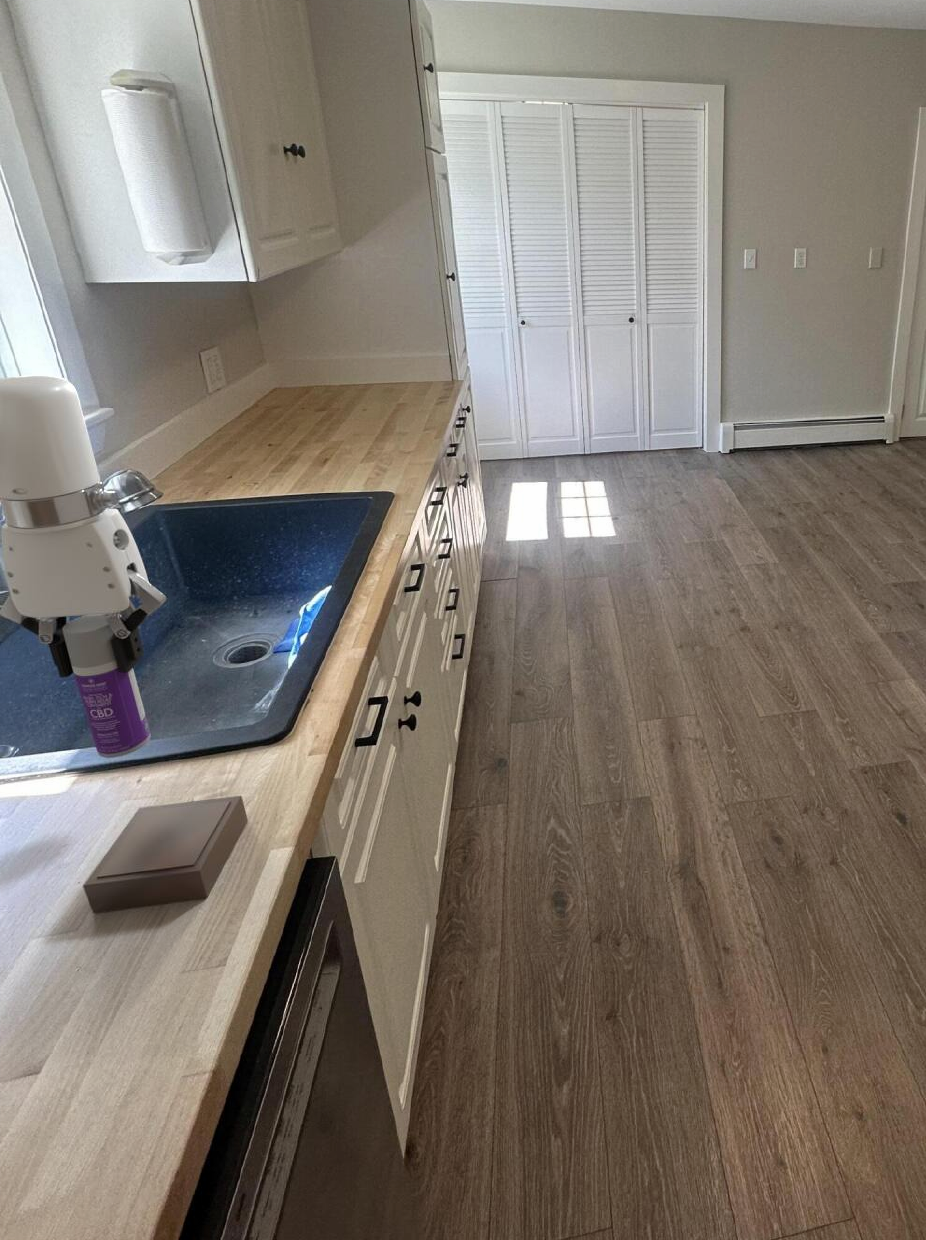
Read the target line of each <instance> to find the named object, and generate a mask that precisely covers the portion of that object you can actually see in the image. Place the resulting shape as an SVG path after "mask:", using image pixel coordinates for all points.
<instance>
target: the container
mask: <svg viewBox="0 0 926 1240" xmlns="http://www.w3.org/2000/svg"><path fill="white" fill-rule="evenodd" d="M62 630H63V634H64V638H65V642H66V646H67V649H68V653H69V657H70V661H71V665H72V669H73V673H72V674H73V676H74V679H75V682H76V687H77V689H78V692H79V696H80V699H81V702H82V703H81V704H82V707H83V709H84V713H85V715H86V719H87V723H88V725H89V729H90V732H91V736H92V739H93V742H94V745H95V749H96V752H97V754H98V756H99V757H101V758H105V759H106V758H107V759H111V758H113V759H114V758H119V757H120V758H121V757H123V756H127V755H130V754H132V753H134V752H136V751H138V750H139V749H141V748H143V747H144V746H145V745H146V744H148V742H149V741H150V739H151V737H152V734H151V731H150V726H149V723H148V719H147V716H146V712H145V708H144V704H143V701H142V697H141V693H140V689H139V686H138V682H137V678H136V673H135V671H134V667H133V668H132V669H131V670H130V671H129V672H127V673H121V672H119V669H118V666H117V662H116V659H115V655H114V652H113V648H112V645H111V641H112V639H114V638H115V637H116V635H115V634H114V632H113V630H112V629H111V627H110V626H109V624H108V623H107V621H106V619H105V618H104V616H103V615H102V614H96V615H81V616H77V617H76V618H74V619H72V620H70V622H68V623H67V624H65V625H64V627H63V629H62Z"/></svg>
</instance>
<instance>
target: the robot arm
mask: <svg viewBox="0 0 926 1240" xmlns="http://www.w3.org/2000/svg"><path fill="white" fill-rule="evenodd" d="M82 408H83V407H82V405H81V401H80V398H79V394H78V392H77V390H76V388H75V386H74V384H73V383H71V382H70V381H69V380H67V379H65V378H63V377H61V376H55V375H45V374H43V375H42V374H38V375H19V376H9V377H2V378H0V506H1V509H2V512H3V516H4V519H5V523H4V524H2V526H1V552H2V553H1V554H2V562H3V566H4V572H5V577H6V582H7V586H8V590H9V594H8V596H7V598H6V600H5V601H4V602H3V605H2V606H1V607H0V616H1V617H3V618H5V619H8V620H10V621H12V622H14V623H16V624H21V626H22V627H23V628H24V629H26V630H27V631H29V632H31V633H33V634H35V635H36V636H38V640H39V642H40V643H42V644H46V645H48V647H49V651H50V654H51V657H52V661H53V664H54V666H56V668H57V672H58V675H59V677H60V678H68V677H70V676H72V674H74V673H73V669H72V665H71V661H70V657H69V653H68V649H67V646H66V642H65V638H64V634H63V630H62V629H63V627H64V625H65V624H67V623H68V622H70V621H71V619H70V618H71V617H81V616H84V615H96V614H102V615H103V616H104V618H105V619H106V621H107V623H108V624H109V626H110V627H111V629H112V630H113V632H114V634H115V635H116V637H115V638H114V639H112V641H111V645H112V648H113V652H114V655H115V659H116V662H117V666H118V669H119V672H121V673H127V672H129V671H130V670H131V669H132V668H133V669H134V667H136V665H138V663H139V662H140V661H141V660H142V659H143V656H144V651H145V650H144V647H143V643H142V639H141V635H140V631H139V627H140V625H142V624H143V622H144V621H145V620H146V619H147V618H148V617H149V616H150V615H152V613H154V612H155V611H156V610H158V609H160V607H161V606H162V605H163V604H164V603H166V601H167V596H166V595H165V594H164V593H162V592H161V591H160V590H159V589H158V588H156V587H155V586H154V585H152V584H151V583H150V582H149V579H148V574H147V571H146V568H145V564H144V562H143V559H142V556H141V553H140V551H139V548H138V545H137V543H136V541H135V538H134V536H133V533H132V532H131V530H130V528H129V526H128V524H127V522H126V520H125V519H124V517H123V515H122V514H121V513H120V511H119V510H118V509H117V508H109V507H110V506H115V505H118V504H119V500H120V499H119V494H118V492H116V491H108V490H105V486H104V483H103V482H102V481H101V478H100V473H99V469H98V466H97V462H96V458H95V454H94V449H93V447H92V443H91V438H90V436H89V431H88V428H87V424H86V419H85V417H84V413H83V409H82ZM130 597H136V598H137V599H138V600H139V601H140V602H141V605H139V606H138V607H137V608H136V607H135V606H134V605H135V604H134V603H133V601H131V599H130Z"/></svg>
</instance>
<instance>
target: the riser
mask: <svg viewBox="0 0 926 1240" xmlns="http://www.w3.org/2000/svg"><path fill="white" fill-rule="evenodd" d="M248 821H249V819H248V816H247V812H246V807H245V803H244V801H243V797H242V795H236V796H227V797H219V798H209V799H201V800H193V801H183V802H175V803H166V804H165V803H164V804H157V805H149V806H140V807H139V808H138V809H137V811H136V812H135V813H134V814H133V816H132V817H131V819H130V820H129V821H128V823H127V824H126V825H125V826H124V828H123V829H122V831H121V832H120V834H119V835H118V837H117V838H116V839H115V841H114V842H113V843H112V845H111V846H110V847H109V849H108V851H107V852H106V853H105V855H104V856H103V857H102V859H101V860H100V861H99V863H98V864H97V866H96V867H95V869H94V870H93V871H92V873H91V874H90V875H89V877H88V878H87V880H86V881H85V882H84V884H83V885H82V888H83V891H84V894H85V896H86V899H87V901H88V904H89V906H90V910H91V912H92V914H100V913H105V912H106V913H107V912H114V911H122V910H129V909H135V908H144V907H152V906H158V905H166V904H173V903H180V902H181V903H182V902H188V901H194V900H195V901H196V900H203V899H208V898H209V896H210V894H211V892H212V890H213V888H214V886H215V884H216V882H217V881H218V879H219V877H220V875H221V873H222V872H223V869H224V867H225V866H226V863H227V862H228V859H229V858H230V856H231V854H232V852H233V850H234V848H235V846H236V844H237V842H238V840H239V839H240V837H241V835H242V833H243V831H244V829H245V827H246V826H247V824H248Z"/></svg>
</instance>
